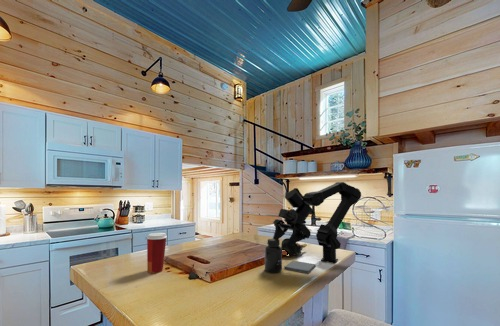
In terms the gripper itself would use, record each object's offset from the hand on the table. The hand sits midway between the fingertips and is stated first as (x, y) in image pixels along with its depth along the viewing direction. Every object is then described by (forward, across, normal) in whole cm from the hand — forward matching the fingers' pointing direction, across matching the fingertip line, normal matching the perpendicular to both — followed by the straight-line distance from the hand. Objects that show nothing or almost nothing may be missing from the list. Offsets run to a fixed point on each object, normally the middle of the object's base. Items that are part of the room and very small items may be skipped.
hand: (279, 243), depth 100 cm
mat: (+1, +2, +13) cm, 14 cm away
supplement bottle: (+9, 0, +5) cm, 11 cm away
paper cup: (+39, -21, -24) cm, 50 cm away
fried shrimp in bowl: (-8, -15, +22) cm, 28 cm away
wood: (+27, -15, -12) cm, 33 cm away
